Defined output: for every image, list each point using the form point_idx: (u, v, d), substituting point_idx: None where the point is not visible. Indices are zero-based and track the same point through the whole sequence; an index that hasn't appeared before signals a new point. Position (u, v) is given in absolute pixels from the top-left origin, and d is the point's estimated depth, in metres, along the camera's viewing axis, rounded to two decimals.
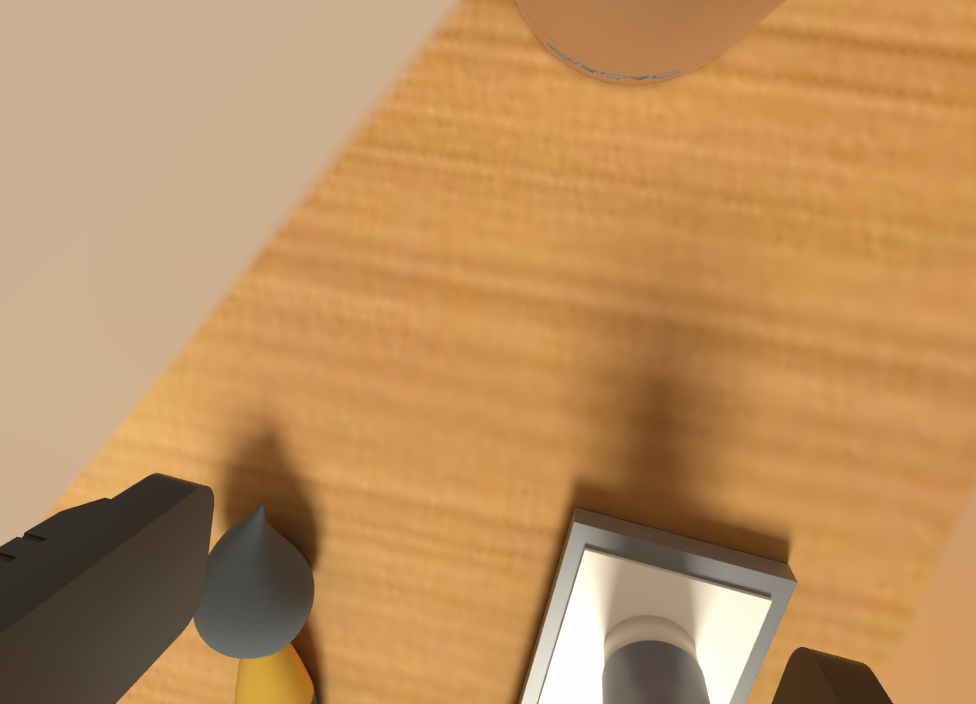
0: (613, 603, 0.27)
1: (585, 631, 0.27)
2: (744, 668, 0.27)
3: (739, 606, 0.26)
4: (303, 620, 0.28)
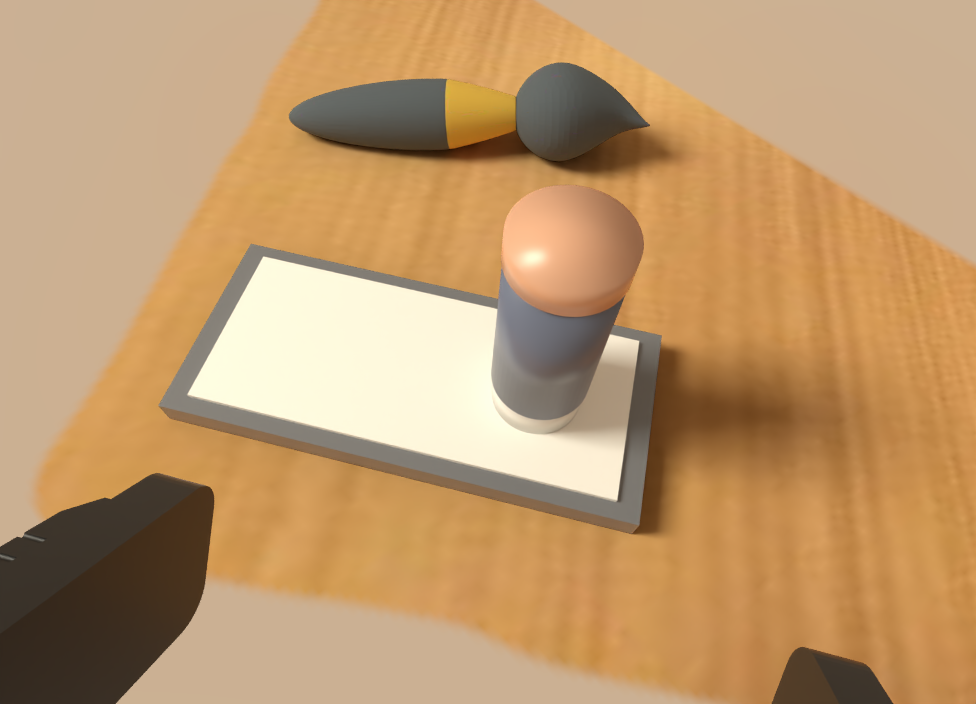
0: None
1: None
2: (528, 481, 0.25)
3: (605, 470, 0.26)
4: (550, 135, 0.34)
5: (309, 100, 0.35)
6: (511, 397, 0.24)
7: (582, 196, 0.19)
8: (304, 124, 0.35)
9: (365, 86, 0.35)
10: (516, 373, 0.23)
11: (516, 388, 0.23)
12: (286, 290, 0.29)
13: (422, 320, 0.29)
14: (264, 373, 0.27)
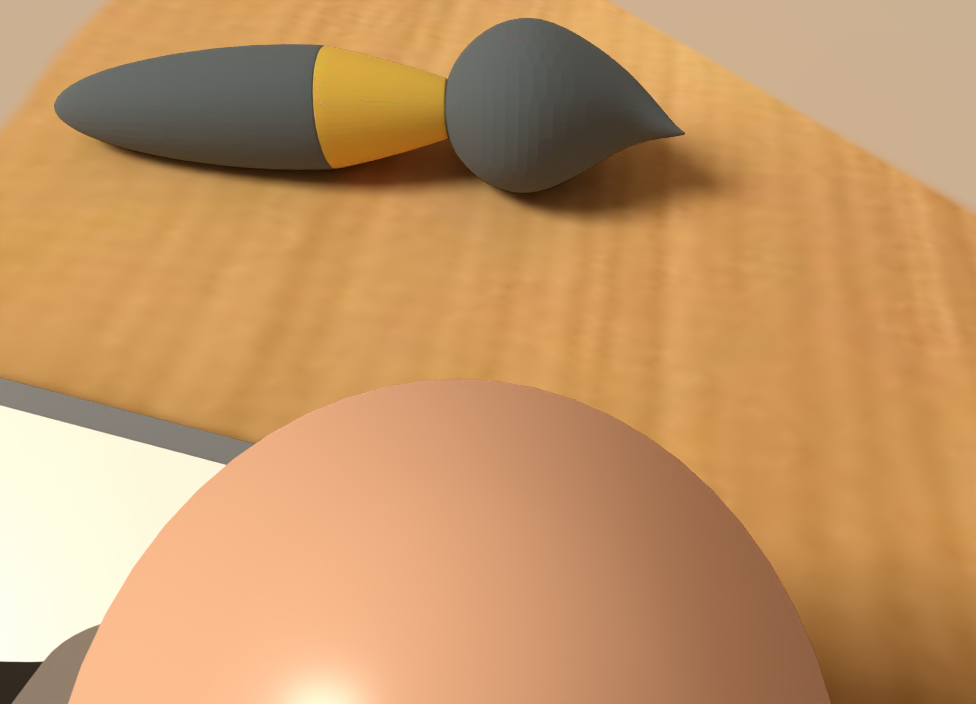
0: None
1: None
2: None
3: None
4: (502, 148, 0.18)
5: (83, 79, 0.20)
6: None
7: (522, 440, 0.04)
8: (75, 121, 0.20)
9: (178, 55, 0.19)
10: None
11: None
12: None
13: None
14: None
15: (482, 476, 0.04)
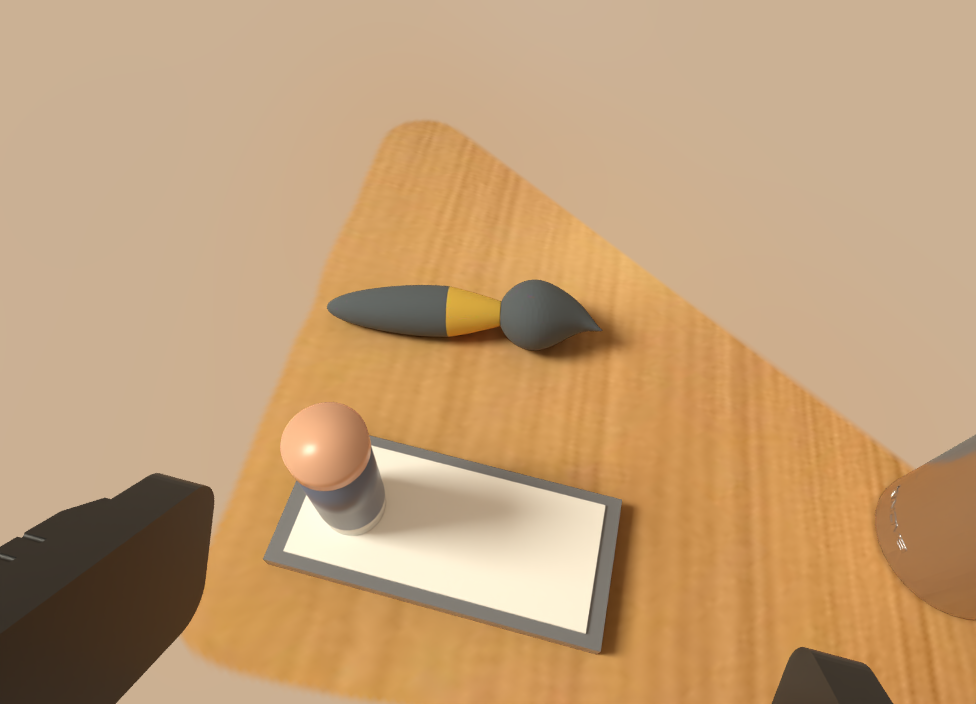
0: (567, 523, 0.39)
1: (543, 505, 0.40)
2: (524, 618, 0.36)
3: (577, 610, 0.36)
4: (524, 338, 0.44)
5: (343, 297, 0.46)
6: (320, 515, 0.36)
7: (338, 411, 0.31)
8: (338, 315, 0.46)
9: (386, 291, 0.46)
10: (314, 506, 0.34)
11: (319, 512, 0.35)
12: None
13: (448, 488, 0.40)
14: (336, 533, 0.38)
15: (332, 415, 0.31)
